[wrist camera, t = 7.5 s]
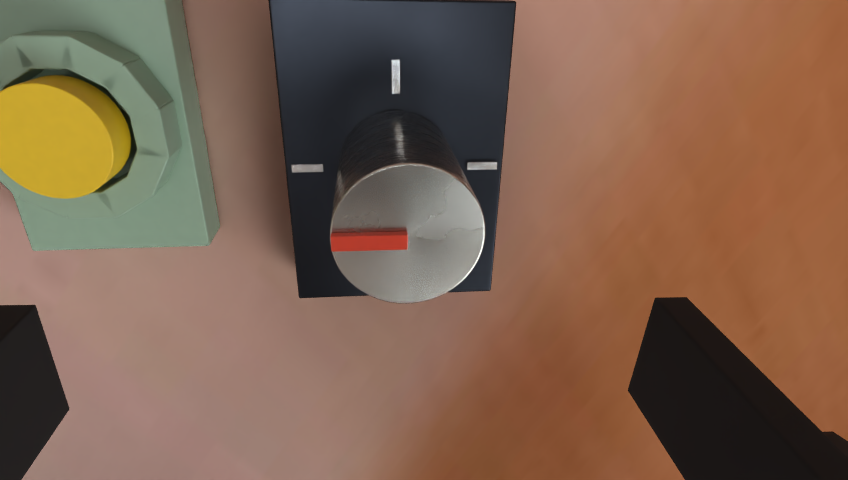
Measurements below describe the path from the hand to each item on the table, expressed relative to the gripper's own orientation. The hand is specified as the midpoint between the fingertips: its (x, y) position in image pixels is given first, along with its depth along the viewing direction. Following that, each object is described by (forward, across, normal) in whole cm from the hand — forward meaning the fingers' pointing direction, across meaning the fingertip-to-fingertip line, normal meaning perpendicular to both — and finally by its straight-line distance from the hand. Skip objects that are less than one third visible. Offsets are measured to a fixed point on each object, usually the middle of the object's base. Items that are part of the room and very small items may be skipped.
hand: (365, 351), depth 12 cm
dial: (+14, -1, 0) cm, 14 cm away
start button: (+13, +12, -1) cm, 17 cm away
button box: (+16, +12, -1) cm, 20 cm away
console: (+16, -1, 0) cm, 16 cm away
